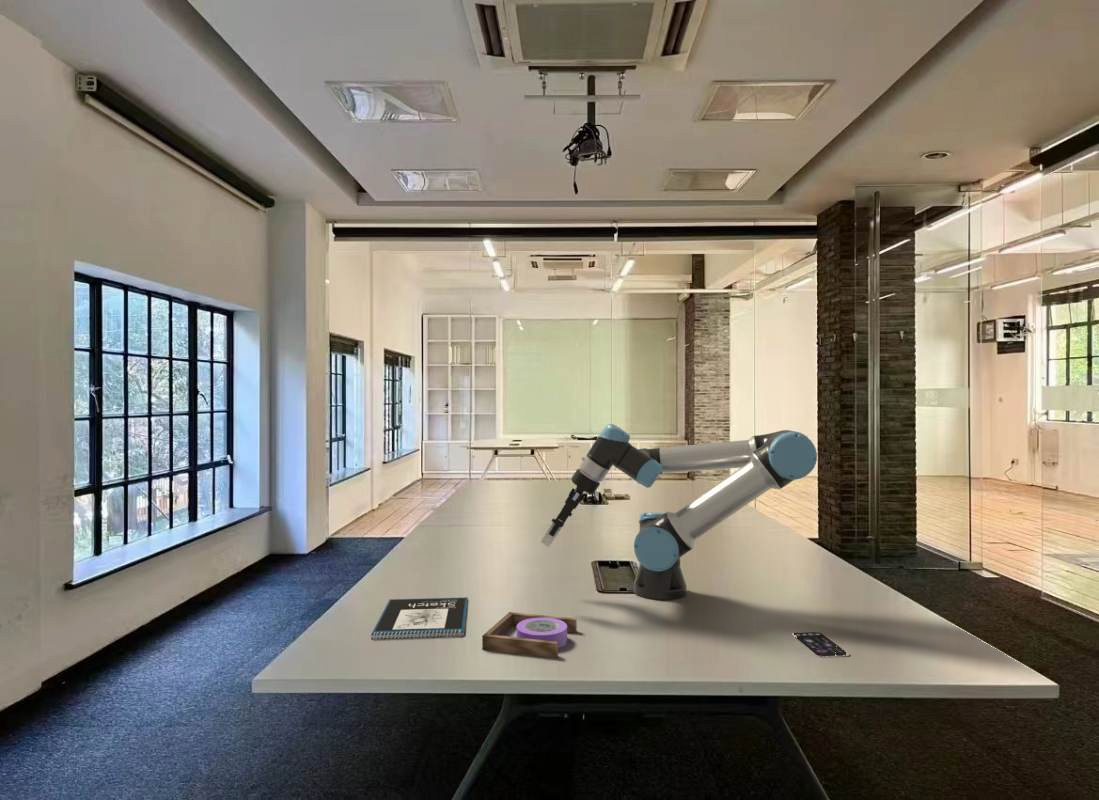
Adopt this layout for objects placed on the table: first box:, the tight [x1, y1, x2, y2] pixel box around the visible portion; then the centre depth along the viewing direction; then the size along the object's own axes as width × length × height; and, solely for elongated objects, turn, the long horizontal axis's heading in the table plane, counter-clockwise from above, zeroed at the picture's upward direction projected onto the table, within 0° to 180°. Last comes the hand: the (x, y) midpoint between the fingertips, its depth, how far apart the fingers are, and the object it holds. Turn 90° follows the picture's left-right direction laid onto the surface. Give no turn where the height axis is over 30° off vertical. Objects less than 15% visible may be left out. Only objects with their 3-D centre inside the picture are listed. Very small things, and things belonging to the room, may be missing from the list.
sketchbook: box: [370, 596, 469, 641], centre depth 169 cm, size 22×30×2 cm
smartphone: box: [793, 631, 846, 658], centre depth 150 cm, size 8×1×15 cm
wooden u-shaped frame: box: [481, 611, 578, 659], centre depth 153 cm, size 17×17×3 cm
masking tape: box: [516, 617, 568, 649], centre depth 153 cm, size 12×12×4 cm
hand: (548, 538), depth 185 cm, fingers open, 13 cm apart
